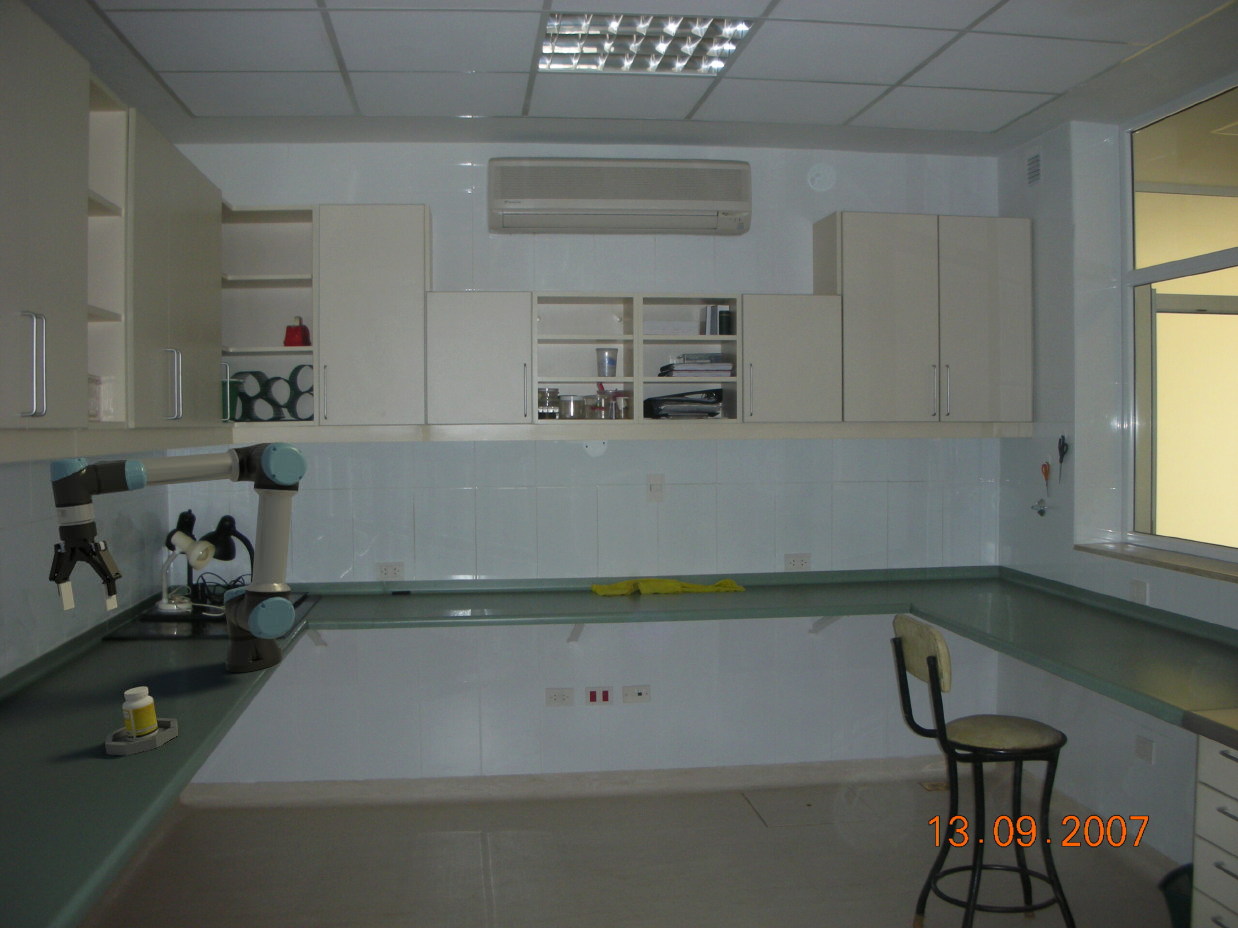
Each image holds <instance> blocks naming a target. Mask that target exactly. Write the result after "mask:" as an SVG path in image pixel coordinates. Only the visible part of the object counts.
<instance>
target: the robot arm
mask: <svg viewBox="0 0 1238 928" xmlns="http://www.w3.org/2000/svg"><path fill="white" fill-rule="evenodd" d="M307 467H308V465H307V459H306V456H305V455H304V453H303V452H302V450H300V448H298V447H297V446H295V445H294V444H292V443H288V442H283V441H281V442H279V441H278V442H277V441H276V442H262V443H257V444H252V445H248V446H242V447H235V448H234V447H233V448H232V447H231V448H229V449H228V450H226V452H214V453H199V454H188V455H185V454H184V455H175V456H174V455H173V456H161V457H147V458H134V459H133V458H132V459H119V460H100V461H96V462H94V463H92V464H89V463H88V462H87V459H86V458H85V457H75V458H64V459H55V460H53V461H52V462H51V463H49V469H50V482H51V488H52V494H53V495H52V496H53V501H54V506H55V511H56V512H55V513H56V519H57V523H58V524H59V526H58V535H59V540H60V541H62V542H60V543H55V544H53V547H54V548H53V549H54V552H53V553H54V554H53V557H52V562H51V567H50V570H49V575H48V580H49V582H53V583H55V584H56V586H57V591H58V592H57V593H58V595H59V597H60V599H59V600H60V605H61V610H62V611H67V610H70V609H74V608H75V606H76V605H75V601H74V592H73V589H72V588H73V587H72V581H70V576H71V574H72V573H73V570H74V569H75V566H76V564H77V563H78V562H85V563H86V564H89V565H90V567H91V568H92V569H93V571H94V572H95V573H96V574H97V575H98V576H99V577H100V579H101V580H102V583H101V590H102V597H103V604H104V609H105V610H104V611H107V612H108V611H111V610H114V609H116V608H117V609H118V601H117V593H118V592H117V585H116V581H117V580H119V579H122V578H123V575H122V573H121V571H120V569H119V567H118V566H117V563H116V561H115V560H114V558H113V556H112V554H111V553H110V551H109V548H108V544H107V541H106V540H102V541H97V542H96V541H95V539H96V538H95V537H96V536H98V529H97V522H96V521H93V520H95V518H96V516H95V508H94V503H93V496H100V495H104V494H105V495H107V494H115V493H122V492H133V491H137V490H142V489H144V488H145V487H152V486H153V487H154V486H155V487H156V486H165V485H178V484H188V483H189V484H190V483H198V482H200V483H201V482H209V481H210V482H211V481H219V480H221V481H222V480H229V481H231V482H232V483H235V482H236V483H237V482H251V483H253V491H255V493H256V494H257V496H258V504H257V515H256V516H257V517H256V529H255V543H254V552H253V553H254V555H253V566H252V567H253V568H252V577H251V578H252V581H251V582H250V583H249V584H248V585H244V586H239V587H236V588H232V589H229V590H226V591H225V592H224V594H223V605H224V612H225V617H226V625H227V632H228V633H227V634H228V640H229V642H228V643H229V644H228V649H227V653H226V659H225V668H226V671H227V672H230V673H248V672H254V671H260V670H263V669H266V668H269V667H272V666H274V665H277V664H278V663H280V662H281V661H282V660H283V652H282V649H281V648H280V647H279V644H278V641H277V640H276V639H277V638H280V637H282V636H283V635H285V634H286V633H287V632H288V631H289V630H290V629H291V627H292V626H293V624H294V622H295V618H296V611H295V608H294V605H293V604H292V602H291V587H290V586H289V585H288V583H286V577H287V564H288V556H289V555H288V552H289V540H290V530H291V529H290V528H291V527H290V525H291V517H292V515H291V514H292V503H293V497H295V495H297V494H298V493H299V490H300V489H299V487H300V481H301V480H302V479H303V478H304V477H305V475H306V472H307ZM60 524H61V525H60Z"/></svg>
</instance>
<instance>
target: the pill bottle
mask: <svg viewBox="0 0 1238 928" xmlns="http://www.w3.org/2000/svg"><path fill="white" fill-rule="evenodd" d="M124 699H125V701H124V702H123V703H122V707H121V708H122V713H123V721H124V725H125V726H124V727H126V734H127V739H128V740H129V741H138V740H142V739H146V738H150V737H153V736H154V735H156V734H157V732H158V726H157V720H156V718H157V715H156V710H155V709H156V708H155V701H154V698H153V696H150V695H149V687H148V686H138V687H134V688H133V687H132V688H130V689H128V690H125V691H124Z"/></svg>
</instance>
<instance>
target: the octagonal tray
mask: <svg viewBox="0 0 1238 928" xmlns="http://www.w3.org/2000/svg"><path fill="white" fill-rule="evenodd" d="M156 720H157V726H158V732H157V734H156V735H154V736H153V737H150V738H146V739H142V740H138V741H129V740H128V739H127V734H126V727H125V726H123V727H121V728H118V729H116V730H115V731H112V732H110V733H109V734H107V735H106V738H105V742H104V743H105V744H104V745H105V752H106V755H110V756H114V755H115V756H127V757H128V756H131V755H135V753H136V754H139V752H140V753H143V751H144V752H147V751H152V750H155V749H154V748H156V749H158V748H160V747H162V746H164V745H165V744H164V743H165V742H167V741H169V740H170V739H172V738H174V737H176V736H178V737H179V728H178V719H177V718H164V717H156ZM169 742H170V741H169ZM163 744H164V745H163ZM161 745H162V746H161ZM159 746H160V747H159ZM157 747H158V748H157ZM151 749H152V750H151Z"/></svg>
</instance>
